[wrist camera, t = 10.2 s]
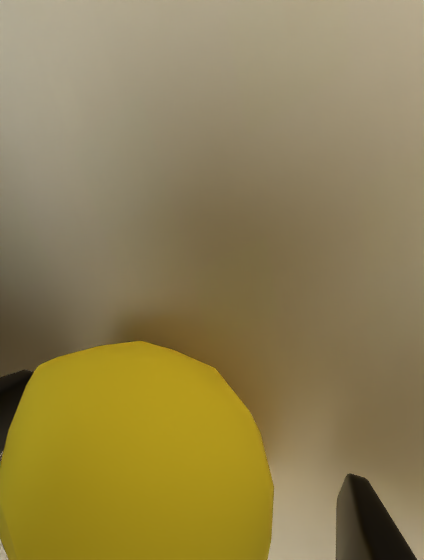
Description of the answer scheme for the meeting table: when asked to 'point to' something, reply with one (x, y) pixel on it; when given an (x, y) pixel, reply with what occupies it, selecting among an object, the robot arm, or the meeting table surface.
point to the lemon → (133, 462)
